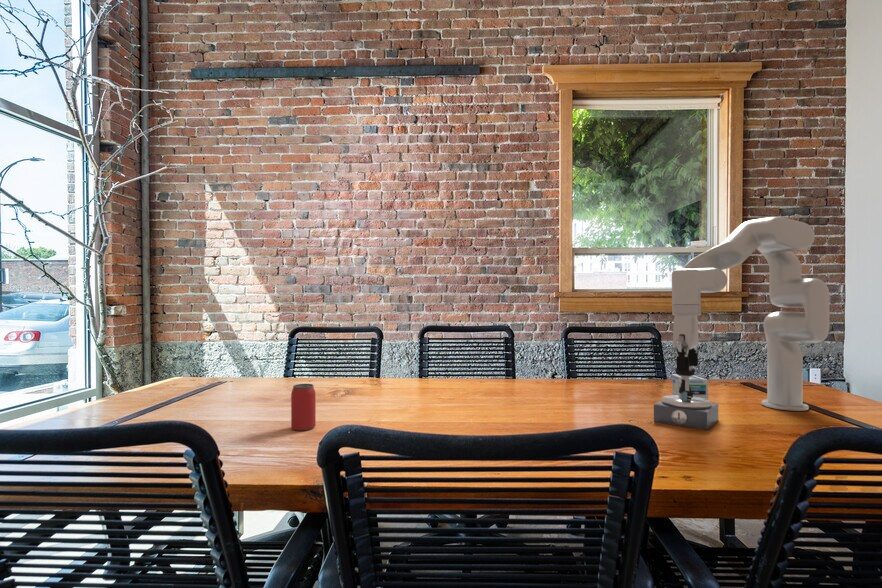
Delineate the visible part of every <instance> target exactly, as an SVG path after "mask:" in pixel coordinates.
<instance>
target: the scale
mask: <svg viewBox="0 0 882 588" xmlns="http://www.w3.org/2000/svg"><path fill="white" fill-rule="evenodd" d="M718 421H719V403H718V402H712V401H711V408H708V409H685V408H678V407H672V406H669V405H666V404H664V403H662V399H661V400H659V401H657V402H656V403H654V404H653V422H655V423H656V422H657V423H661V424H667V425H673V426H678V427H679V426H680V427H685V428H690V429H697V430H703V431H709V430H710V428H711V427H713V425H715V424H716V423H717V422H718Z"/></svg>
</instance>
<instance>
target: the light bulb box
mask: <svg viewBox="0 0 882 588" xmlns="http://www.w3.org/2000/svg"><path fill="white" fill-rule="evenodd" d="M671 381H672V382H671V385H672V388H671V395H679V387H681V376H679V375H678V374H676V373H672V374H671ZM708 381H709V380H708V379H707V378H703V377H699V376H697V375H693V376H692V377H689V384H690V387H691V392H692V393H693V396H694V397H700V398H704V399H707V400H709V398H708V395H709V393H708V392H709V389H708V388H709V387H708V386H709V383H708Z"/></svg>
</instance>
